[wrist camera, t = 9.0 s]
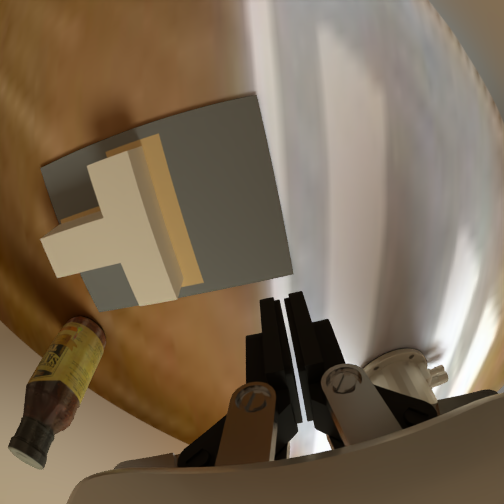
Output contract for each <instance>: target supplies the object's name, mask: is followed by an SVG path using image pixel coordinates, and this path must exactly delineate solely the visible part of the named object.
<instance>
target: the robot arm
mask: <svg viewBox="0 0 504 504" xmlns="http://www.w3.org/2000/svg"><path fill="white" fill-rule="evenodd" d="M284 302H285V307H286V312H287V317H288V322H289V327H290V332H291V337H292V342H293V347H294V352H295V357H296V363H297V368H298V373H299V378H300V384H301V389H302V394H303V399H304V405H305V410H306V416H307V421H312V420H313V421H314V426H315V428H316V429H317V430H319V431H321V432H323V433H325V434H326V436H327V440H328V442H329V444H330V446H331V449H332V450H330V451H325V452H321V453H316V454H311V455H306V456H300V457H294V458H289V455H290V440H291V439H292V438H293V437H294V436H295V435H296V433H297V432H298V427H297V423H302V422H303V421H302V415H301V409H300V403H299V398H298V392H297V386H296V380H295V375H294V369H293V363H292V358H291V353H290V348H289V343H288V338H287V333H286V328H285V323H284V319H283V314H282V309H281V304H280V300H275V301H274V298H273V297H271V298H267V299H262V300H260V312H261V325H262V333H259V334H253V335H248V336H246V384H244V385H242V386H241V387H239V388H238V389H237V390H236V391H235V392H234V393H233V394H232V397H231V399H230V403H229V408H228V412H227V414H226V415H225V416H224V417H223V418H222V419H221V420H219V421H218V422H217V423H216V424H215V425H213V426H212V427H211V428H210V429H209V430H207V431H206V432H205V433H204V434H203V435H201V436H200V437H199V438H198V439H196V440H195V441H194V442H193V443H191V444H190V445H189V446H188V447H186V448H185V449H184V450H183V451H182V452H181V454H178V455H174V453H169V454H164V455H159V456H153V457H149V458H142V459H136V460H129V461H124V462H121V463H119V464H118V465H117V466H116V467H115V468H114V469H113V470H108V471H104V472H100V473H96V474H94V475H91V476H89V477H86V478H85V479H83V480H82V481H80V482H79V483H78V484H77V485H76V487H75V488H74V490H73V491H72V493H71V495H70V497H69V499H68V502H67V504H504V393H500V394H498V393H497V392H496V391H493V390H481V391H477V392H473V393H469V394H465V395H460V396H456V397H451V398H446V399H441V400H437V399H436V397H435V395H434V393H433V391H432V388H433V387H435V386H438V385H441V384H443V383H445V382H447V381H448V375H447V373H446V372H445V371H444V367H443V365H439V366H437V367H434V368H433V369H431V370H430V369H427V361H426V359H425V357H424V355H423V354H422V353H421V352H420V351H418V350H416V349H399V350H395V351H392V352H389V353H386V354H384V355H382V356H380V357H378V358H377V359H375V360H373V361H372V362H371V363H369V364H368V365H367V366H366V367H365V368H363V369H362V368H360V367H359V366H357V365H353V364H346V363H345V361H344V358H343V355H342V353H341V350H340V347H339V345H338V342H337V339H336V337H335V334H334V331H333V329H332V326H331V324H330V321H329V319H325V320H321V321H316V322H312V321H311V318H310V315H309V311H308V308H307V305H306V302H305V299H304V295H303V292H302V291H300V292H295V293H290V294H289V298H285V299H284Z"/></svg>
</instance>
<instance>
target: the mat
mask: <svg viewBox="0 0 504 504" xmlns="http://www.w3.org/2000/svg"><path fill="white" fill-rule="evenodd" d="M140 146H142V147H143V151H144V155H145V158H146V162H147V165H148V169H149V172H150V176H151V179H152V183H153V186H154V190H155V193H156V196H157V199H158V203H159V206H160V209H161V212H162V215H163V219H164V222H165V225H166V228H167V231H168V234H169V237H170V240H171V243H172V246H173V249H174V252H175V255H176V258H177V261H178V264H179V266H180V269H181V272H182V275H183V278H184V279H183V282H182V286H181V289H180V292H179V296H178V298H180V297H185V296H190V295H196V294H201V293H206V292H211V291H216V290H221V289H226V288H230V287H235V286H240V285H245V284H250V283H255V282H259V281H264V280H269V279H273V278H278V277H283V276H287V275H292V274H293V269H292V264H291V258H290V253H289V247H288V242H287V237H286V232H285V226H284V221H283V216H282V211H281V206H280V201H279V196H278V191H277V186H276V181H275V176H274V172H273V167H272V162H271V158H270V153H269V148H268V144H267V139H266V135H265V130H264V126H263V121H262V117H261V112H260V108H259V104H258V99H257V95H253V96H248V97H243V98H239V99H234V100H230V101H226V102H221V103H217V104H213V105H209V106H205V107H202V108H198V109H194V110H191V111H187V112H184V113H180V114H177V115H173V116H170V117H167V118H164V119H160V120H157V121H154V122H151V123H148V124H145V125H142V126H139V127H137V128H134V129H131V130H128V131H125V132H123V133H120V134H117V135H115V136H112V137H110V138H107V139H105V140H102V141H100V142H97V143H95V144H92V145H90V146H87V147H85V148H83V149H80V150H78V151H76V152H74V153H71V154H69V155H67V156H65V157H63V158H61V159H58V160H56V161H54V162H52V163H50V164H48V165H46V166H44V167H42V168H41V172H42V175H43V178H44V181H45V185H46V188H47V191H48V194H49V197H50V200H51V203H52V205H53V208H54V211H55V214H56V216H57V219H58V222H59V224H62V223H65V222H68V221H71V220H74V219H77V218H80V217H83V216H86V215H89V214H92V213H95V212H98V211H101V209H100V206H99V203H98V200H97V197H96V194H95V191H94V188H93V185H92V182H91V179H90V175H89V172H88V169H87V166H88V165H90V164H93V163H95V162H98V161H100V160H103V159H105V158H108V157H111V156H114V155H116V154H119V153H122V152H125V151H128V150H131V149H134V148H137V147H140ZM80 274H81V276H82V278H83V281H84V283H85V285H86V287H87V289H88V291H89V293H90V295H91V297H92V299H93V301H94V303H95V305H96V307H97V309H98V311H99V312H103V311H109V310H115V309H120V308H126V307H132V306H137V305H139V304H138V302H137V300H136V297H135V295H134V293H133V291H132V288H131V286H130V284H129V281H128V279H127V277H126V274H125V272H124V270H123V267H122V265H121V263H118V264H114V265H109V266H105V267H101V268H97V269H93V270H89V271H84V272H80Z"/></svg>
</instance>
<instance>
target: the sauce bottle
mask: <svg viewBox="0 0 504 504" xmlns="http://www.w3.org/2000/svg"><path fill="white" fill-rule="evenodd" d="M105 345H106V337H105V334H104V332H103V330H102V329H101V328H100V327H99V326H98V325H97V324H96V323H95V322H93V321H92V320H91V319H89V318H86V317H82V316H79V317H73V318H71V319H70V320H68V321H67V323H66V324H65V325H64V326H63V327H62V328H61V330H60V332H59V333H58V335H57V336H56V338H55V339H54V341H53V342H52V344H51V345H50V347H49V349H48V350H47V352H46V353H45V355H44V356H43V358H42V360H41V361H40V363H39V365H38V367H37V368H36V370H35V372H34V373H33V375H32V377H31V378H30V380H29V382H28V384H27V386H26V394H25V404H24V413H23V418H21V423H20V425H19V427H18V429H17V431H16V433H15V435H14V436H13V437H12V438H11V440H10V443H9V446H8V448H9V450H10V451H11V452H12V453H13V454H14V455H15V456H16V457H17V458H19V459H20V460H21V461H23V462H25V463H26V464H29V465H30V466H32V467H35V468H37V469H43V468H44V467H45V464H46V460H47V453H48V450H49V447H50V445H51V443H52V441H53V440H54V435H55V434H56V433H58V432H60V431H63V430H65V429H66V428H67V427H68V426H70V424H71V422H72V420H73V419H74V415H75V413H76V410H77V408H78V407H79V405H80V403H81V401H82V399H83V397H84V394H85V392H86V390H87V387H88V385H89V383H90V381H91V379H92V376H93V374H94V372H95V370H96V368H97V365H98V363H99V361H100V359H101V357H102V354H103V350H104V348H105Z"/></svg>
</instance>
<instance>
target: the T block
mask: <svg viewBox="0 0 504 504" xmlns="http://www.w3.org/2000/svg"><path fill="white" fill-rule="evenodd" d="M87 169H88V172H89V175H90V179H91V182H92V185H93V188H94V191H95V194H96V197H97V200H98V203H99V206H100V209H101V211H98V212H95V213H92V214H89V215H86V216H83V217H80V218H77V219H74V220H71V221H68V222H65V223H62V224H60V225H58V226H57V227H55V228H54V229H53V230H51V231H50V232H49V233H47V234H46V235H45V236H43V237H42V238H41V239H40V240H41V242H42V245H43V247H44V249H45V252H46V254H47V256H48V259H49V261H50V263H51V265H52V268H53V270H54V272H55V274H56V276H57V278H60V277H64V276H68V275H72V274H76V273H80V272H84V271H89V270H93V269H97V268H101V267H105V266H109V265H114V264H118V263H121V265H122V267H123V270H124V272H125V274H126V277H127V279H128V281H129V284H130V286H131V288H132V291H133V293H134V295H135V297H136V300H137V302H138V304H139V306H144V305H150V304H155V303H161V302H167V301H172V300H177V299H178V296H179V292H180V289H181V286H182V282H183V279H184V278H183V275H182V272H181V269H180V266H179V264H178V261H177V258H176V255H175V252H174V249H173V246H172V243H171V240H170V237H169V234H168V231H167V228H166V225H165V222H164V219H163V215H162V212H161V209H160V206H159V203H158V199H157V196H156V193H155V190H154V186H153V183H152V179H151V176H150V172H149V169H148V165H147V162H146V158H145V155H144V151H143V147H142V146H140V147H137V148H134V149H131V150H128V151H125V152H122V153H119V154H116V155H114V156H111V157H108V158H105V159H103V160H100V161H98V162H95V163H93V164H90V165H88V166H87Z"/></svg>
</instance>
